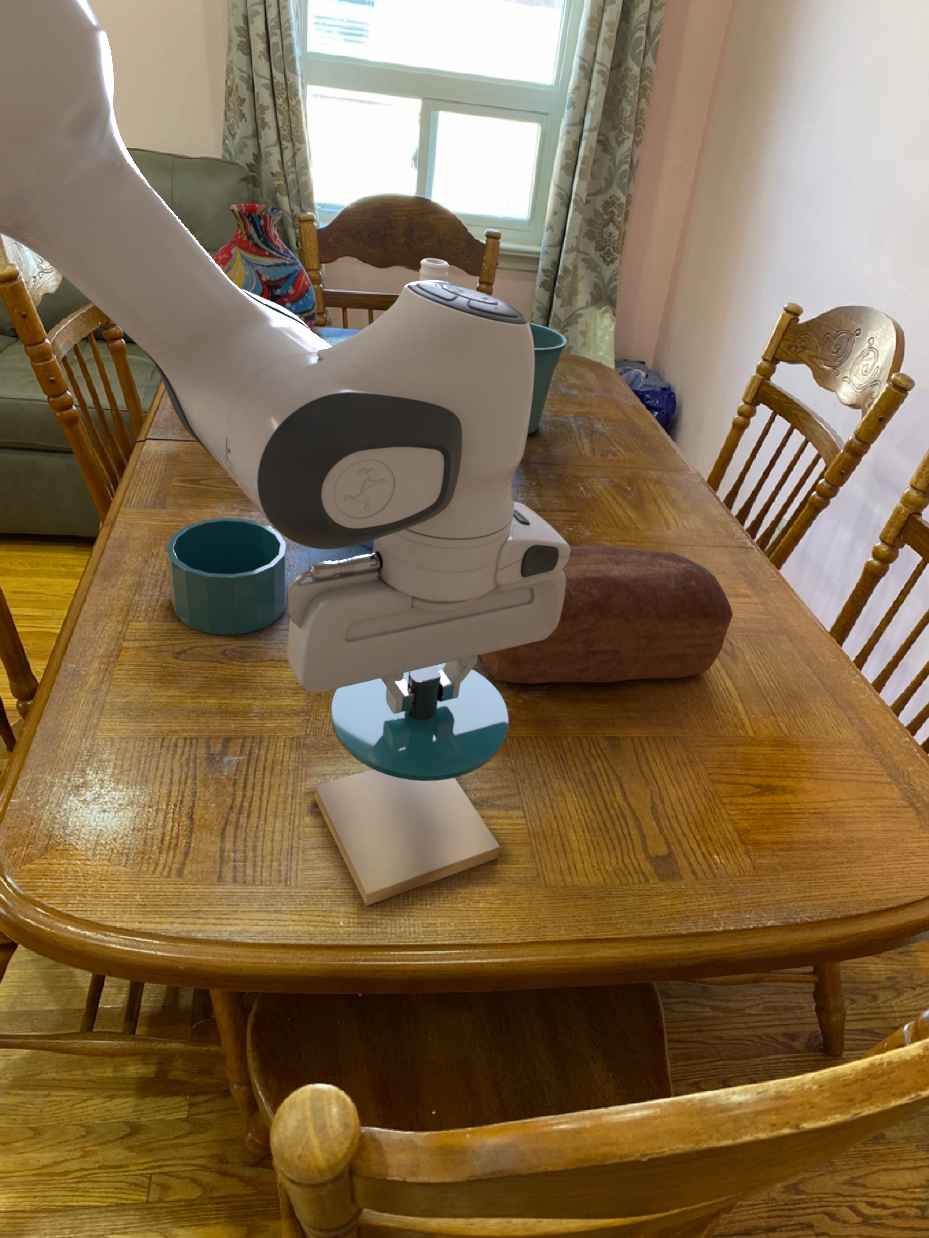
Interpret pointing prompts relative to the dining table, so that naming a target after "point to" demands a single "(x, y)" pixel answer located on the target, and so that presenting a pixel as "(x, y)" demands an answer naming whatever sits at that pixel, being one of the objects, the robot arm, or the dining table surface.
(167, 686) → the dining table surface
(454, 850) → the board
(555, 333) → the flower pot
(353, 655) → the robot arm
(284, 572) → the pot
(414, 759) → the pot lid
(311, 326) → the vase
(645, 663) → the bread
